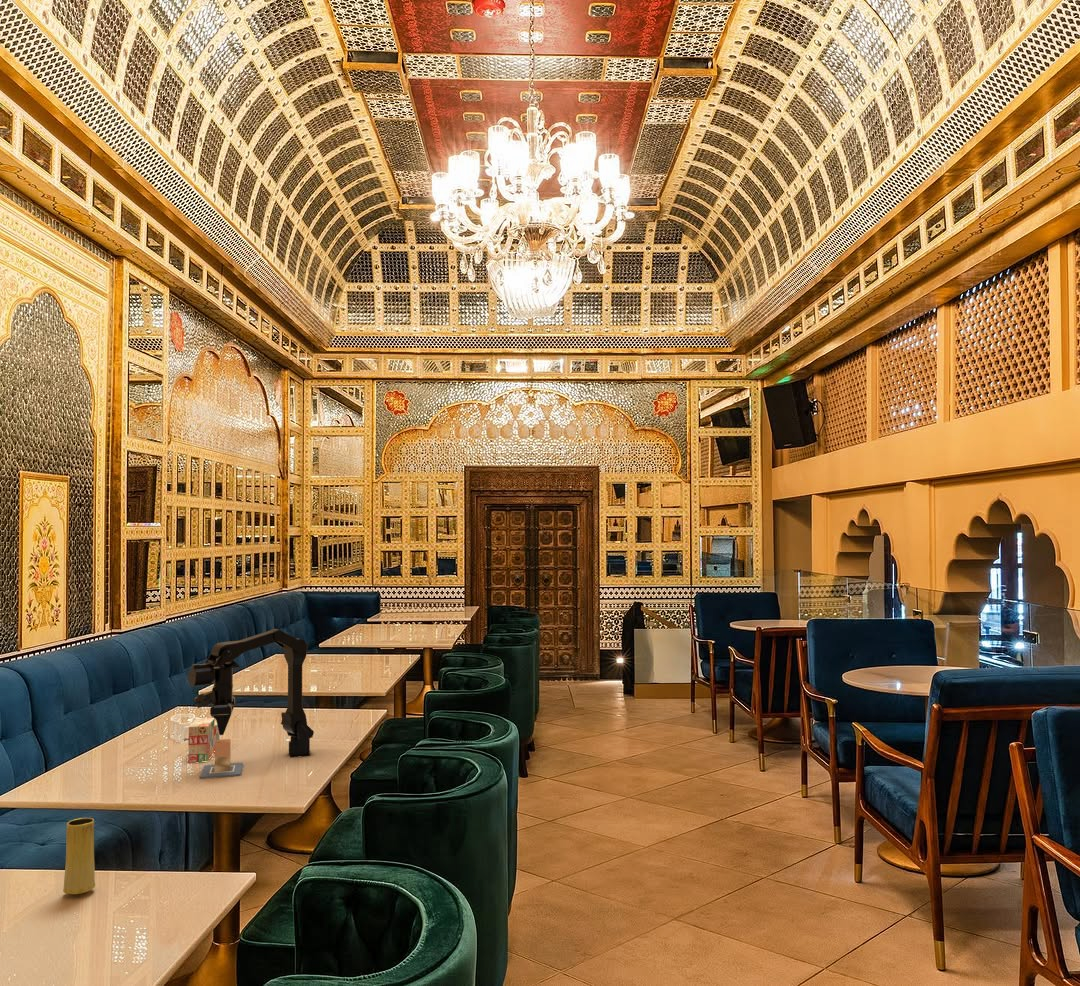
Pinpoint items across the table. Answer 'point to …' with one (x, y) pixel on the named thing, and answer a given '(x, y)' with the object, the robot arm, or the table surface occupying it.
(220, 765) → the maple block
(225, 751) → the terracotta block
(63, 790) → the table surface
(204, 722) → the stack of blocks
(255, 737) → the table surface
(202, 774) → the board
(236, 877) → the table surface
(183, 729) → the white piece
